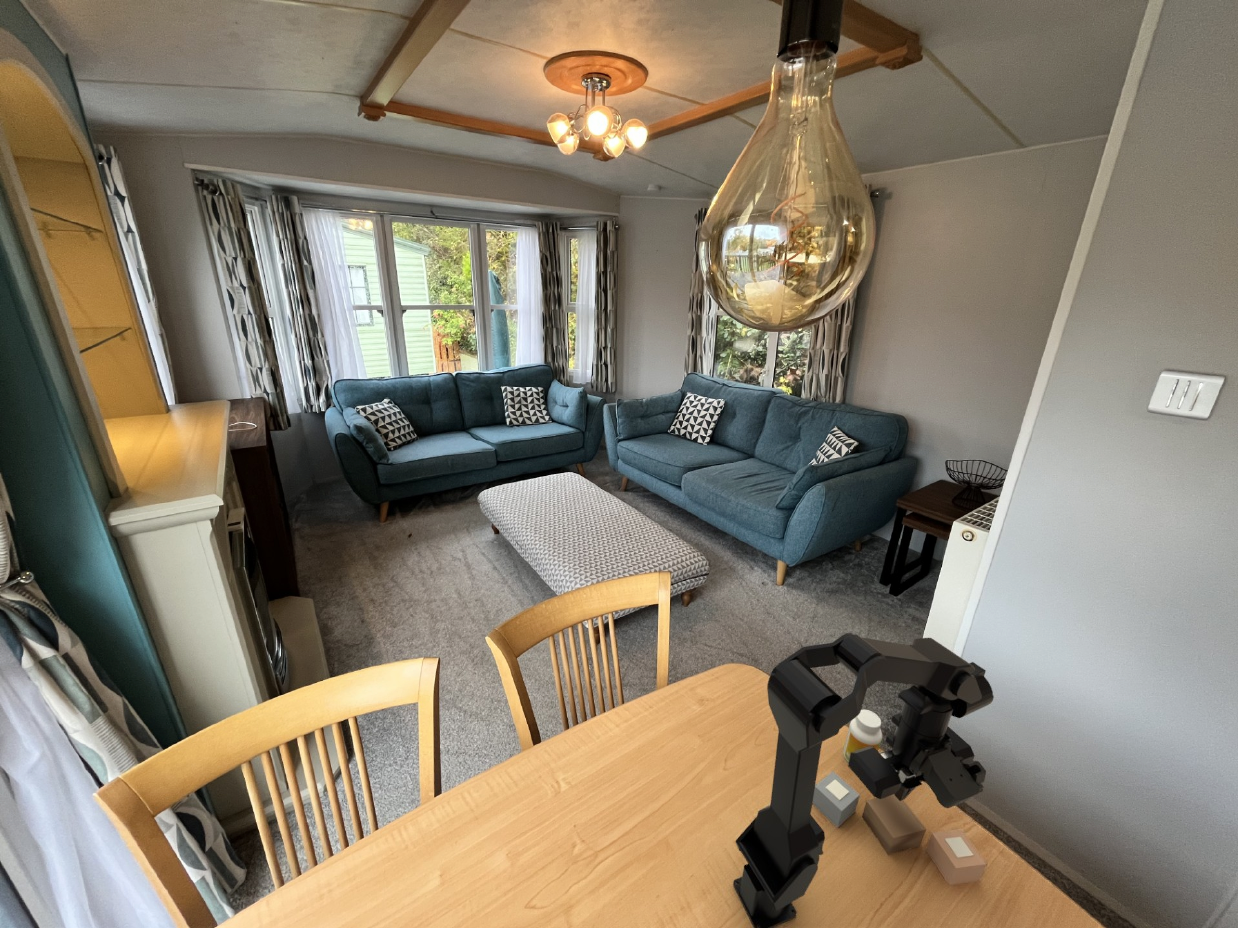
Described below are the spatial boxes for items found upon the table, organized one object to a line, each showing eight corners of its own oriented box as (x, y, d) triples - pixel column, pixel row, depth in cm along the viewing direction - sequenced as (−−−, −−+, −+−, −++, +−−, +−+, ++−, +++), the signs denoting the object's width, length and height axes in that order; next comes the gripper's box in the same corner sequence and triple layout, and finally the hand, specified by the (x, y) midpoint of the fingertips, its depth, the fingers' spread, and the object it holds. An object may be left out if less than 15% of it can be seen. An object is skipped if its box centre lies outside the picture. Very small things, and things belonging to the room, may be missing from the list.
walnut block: (887, 855, 78) (893, 837, 77) (861, 817, 83) (866, 800, 82) (920, 846, 79) (926, 829, 78) (892, 809, 85) (897, 792, 83)
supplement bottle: (878, 774, 91) (889, 733, 87) (846, 768, 92) (856, 727, 88) (870, 748, 96) (881, 708, 92) (840, 743, 97) (849, 703, 93)
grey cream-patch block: (837, 828, 82) (841, 809, 80) (810, 802, 85) (814, 784, 84) (855, 811, 84) (860, 793, 83) (828, 787, 88) (833, 769, 87)
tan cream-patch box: (948, 885, 74) (956, 866, 73) (925, 849, 79) (931, 831, 77) (979, 881, 75) (987, 862, 73) (954, 845, 80) (961, 827, 78)
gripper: (921, 790, 63) (894, 872, 69) (1024, 750, 69) (992, 828, 75) (855, 720, 73) (836, 797, 79) (951, 690, 79) (927, 764, 85)
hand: (899, 797), depth 79 cm, fingers closed
